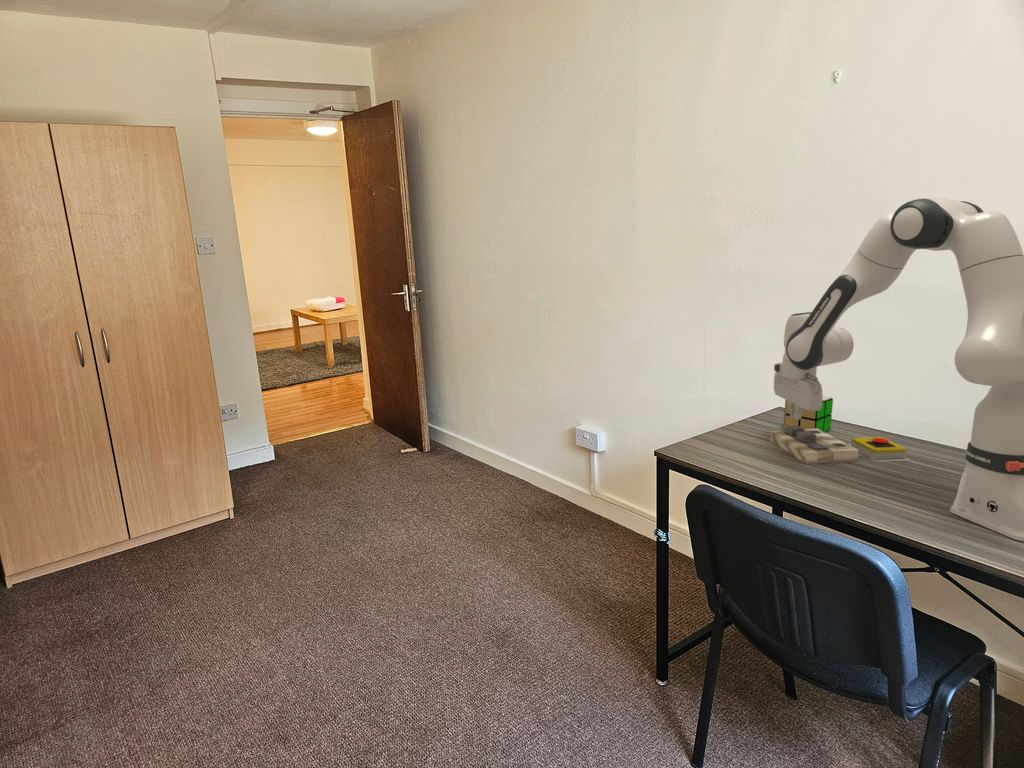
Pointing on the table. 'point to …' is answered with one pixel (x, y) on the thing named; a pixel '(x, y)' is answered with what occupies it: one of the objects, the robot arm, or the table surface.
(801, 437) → the middle button
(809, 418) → the puzzle cube
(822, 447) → the near button
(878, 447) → the emergency button
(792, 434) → the far button
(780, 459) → the table surface
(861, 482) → the table surface
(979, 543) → the table surface
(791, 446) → the button board
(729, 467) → the table surface
